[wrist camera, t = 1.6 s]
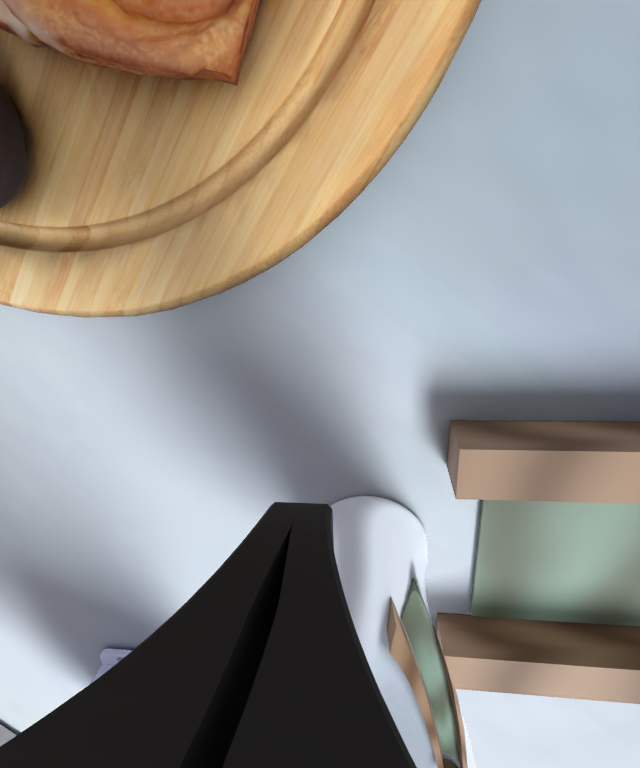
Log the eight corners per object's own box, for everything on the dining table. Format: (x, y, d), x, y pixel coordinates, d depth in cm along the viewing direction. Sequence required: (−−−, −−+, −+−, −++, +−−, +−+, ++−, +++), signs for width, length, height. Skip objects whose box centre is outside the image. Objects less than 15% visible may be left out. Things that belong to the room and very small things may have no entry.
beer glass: (366, 610, 25) (355, 1113, 11) (276, 536, 24) (137, 1003, 10) (464, 548, 22) (605, 1097, 9) (370, 462, 21) (360, 947, 7)
